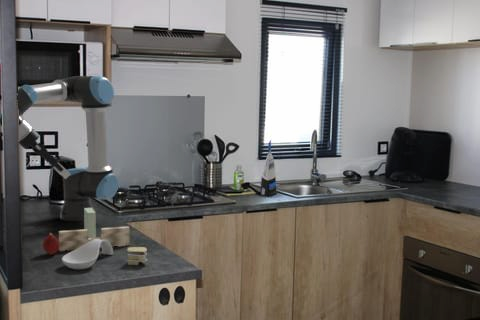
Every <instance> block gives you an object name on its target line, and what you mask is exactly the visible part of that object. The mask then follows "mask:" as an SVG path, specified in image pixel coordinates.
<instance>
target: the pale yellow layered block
mask: <svg viewBox="0 0 480 320" xmlns="http://www.w3.org/2000/svg"><path fill="white" fill-rule="evenodd" d="M126 251H128V252H127V253H126V255H127V257H128V258H127V259H126V261H127V265H129V266H131V265H132V266H139V264H146V262H148V259H147V255H148V253H147V251H148V249H147V247H143V246H134V247H133V246H132V247H131V246H129V247H128V248H127V249H126Z"/></svg>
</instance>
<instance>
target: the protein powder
mask: <svg viewBox="0 0 480 320" xmlns="http://www.w3.org/2000/svg"><path fill="white" fill-rule="evenodd" d="M267 147H268V149H267V151H268V152H267V156H266V159H265V163H264V167H263V171H262V174H261V181H260V193H259V194H260V195H261V196H263V197H267V198H269V197H274V196H276V195H277V193H278V192H277V179H276V178H277V177H276V168H275V167H276V166H275V160H274V156H273V154H272V139H271V140H269V142H268V146H267Z"/></svg>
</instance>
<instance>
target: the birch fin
mask: <svg viewBox="0 0 480 320" xmlns="http://www.w3.org/2000/svg"><path fill="white" fill-rule="evenodd" d="M130 233H131V231H130V226H129V225H128V226H119V227H118V226H116V227H115V226H113V227H101V228H100V236H99V237H98V236H96V238H89V236H88V229H70V230H59V231H58V240H59V243H60V246H59V249H58V251H60V252H65V250H67V251H74V250H76V249H78V248H80V247H81V246H83V245H85V244H87V243H88V242H90V241H92V240H94V239H101V240H107V241H108V242H109V243H110V244H111V246H112V248H115V247H114V246H118V247H127V246H128V245H131V244H130V243H131V242H130V240H131V239H130ZM126 245H127V246H126ZM99 249H102V244H100V248H99Z"/></svg>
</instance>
